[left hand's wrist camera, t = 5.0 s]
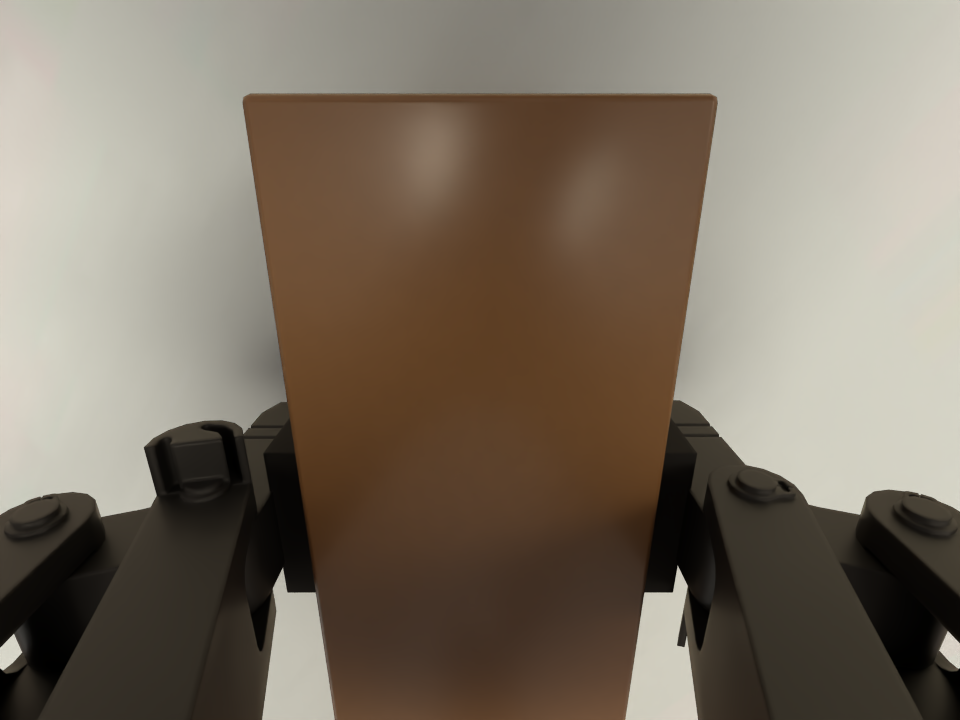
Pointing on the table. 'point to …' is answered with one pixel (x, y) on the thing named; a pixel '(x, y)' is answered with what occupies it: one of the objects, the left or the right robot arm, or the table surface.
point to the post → (480, 381)
